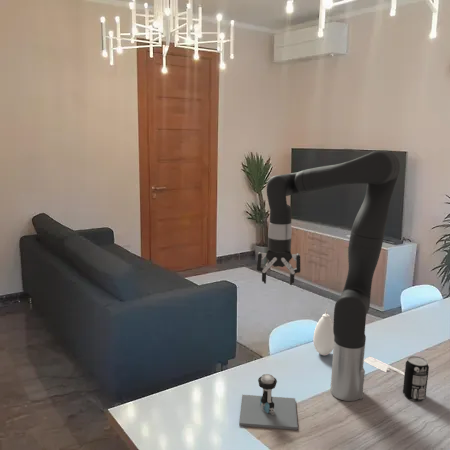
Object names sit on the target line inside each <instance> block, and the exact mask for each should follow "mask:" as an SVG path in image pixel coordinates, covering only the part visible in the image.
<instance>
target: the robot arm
mask: <svg viewBox="0 0 450 450" xmlns="http://www.w3.org/2000/svg"><path fill="white" fill-rule="evenodd" d="M400 170H401V162H400V160H399V158H398V155H397V154H395V153H394V152H392V151H391V150H374V151H371V152H369V153H366V154H364V155H362V156H359V157H357V158H354V159H351V160H347V161H345V162H342V163H341V162H340V163H336V164H331V165H323V166H318V167H313V168H307V169H302V170H301V171H300V170H299V171H298V172H291V173H285V174H279V175H274V176H271V177H270V178H269V180H268V182H267V185H266V196H267V201H268V202H267V203H268V206H269V207H268V208H269V223H268V232H267V252H262V251H259V252H257V263H256V271H258V272H261V274H262V275H261V282H263V284H267V271H268V270H269V269H271V267H272V266H273V267H275V268H277V267H280V268H284V267H286V269H288V271H289V285H290V286H292V285H293V284H295V283H294V282H295V275H296V274H299V273H301V254H300V253H298V252H297V253H292V251H291V250H292V235H293V234H292V230H293V227H292V217H293V216H292V214H293V213H292V211H293V210H292V206H291V205H290V204H288V202H287V200H288V199H287V197H288V196H289V197H290V196H293V195H297V194H302V193H305V194H307V193H313V192H318V191H319V192H320V191H323V190H328V189H333V188H335V187H339V186H345V185H353V184H354V185H357V184H367V185H366V191H365V195H364V199H363V201H362V204H361V206H360V207H359V210H358V212H357V213H356V216H355V219H354V221H353V224H352V226H351V230H350V236H349V241H348V248H347V252H348V253H347V254H348V255H347V259H348V272H347V276H346V281H345V283H344V287H343V289H342V291H341V294H340V296H339V297H338V298H337V300H336V301H335V303H334V308H333V311H334V312H333V333H334V348H333V350H332V364H331V377H330V379H331V380H330V381H331V382H330V394H331V395H332V396H333V397H334V398H336V399H338V400H342V401H345V402H354V401H357V400H362V399H363V396H364V394H363V393H364V385H365V384H364V383H365V372H366V371H365V368H364V363H365V362H364V359H365V351H366V339H367V338H366V337H367V336H366V324H367V323H366V322H367V320H366V319H367V315H368V313H369V310H370V307H371V294H372V283H373V277H374V274H375V271H376V268H377V265H378V262H379V259H380V256H381V255H380V254H381V251H382V247H383V242H384V238H385V232H386V227H387V221H388V217H389V216H388V215H389V211H390V210H389V209H390V204H391V203H390V202H391V199H392V196H393V192H394V190H395V187H396V183H397V180H398V178H399V174H400V172H401V171H400ZM265 258H266V259H267V260H268V261H267V262H266V263H265V265H264V266H262V260H264V259H265ZM292 259H293V261H295V265H296V267H295V268H294V267H293V265H292V264H291V263H290V261H291V260H292Z"/></svg>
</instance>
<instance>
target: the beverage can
mask: <svg viewBox="0 0 450 450" xmlns="http://www.w3.org/2000/svg"><path fill="white" fill-rule="evenodd" d="M404 368H405V369H404V372H405V375H404V376H403V377H404V378H403V386H402V393H403V395H404V397H406V399H409V400H410V401H414V402H415V401H416V402H420V401H423V400H424V399H425V398H426V396H427V389H428V388H427V387H428V379H429V370H430V366H429V362H428V360H427V359H425V358H424V357H421V356H416V355H412V356H409V357H407V360H406V362H405V367H404Z"/></svg>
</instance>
